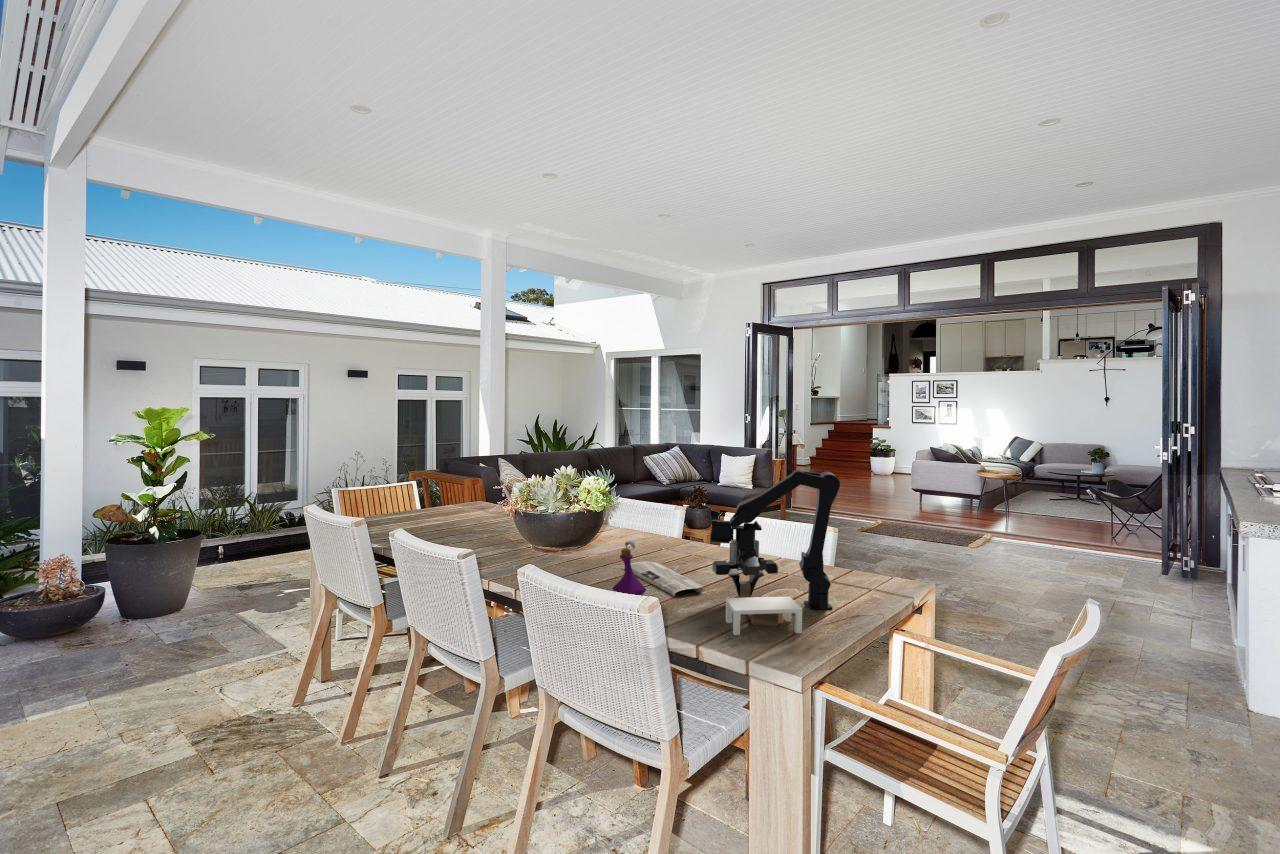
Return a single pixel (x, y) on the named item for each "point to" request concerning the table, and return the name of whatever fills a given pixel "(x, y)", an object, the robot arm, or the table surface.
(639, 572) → the newspaper
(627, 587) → the perfume bottle
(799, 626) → the low shelf
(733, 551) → the ruin model on sheet
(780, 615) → the terracotta block
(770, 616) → the tan post with foot
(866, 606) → the table surface
